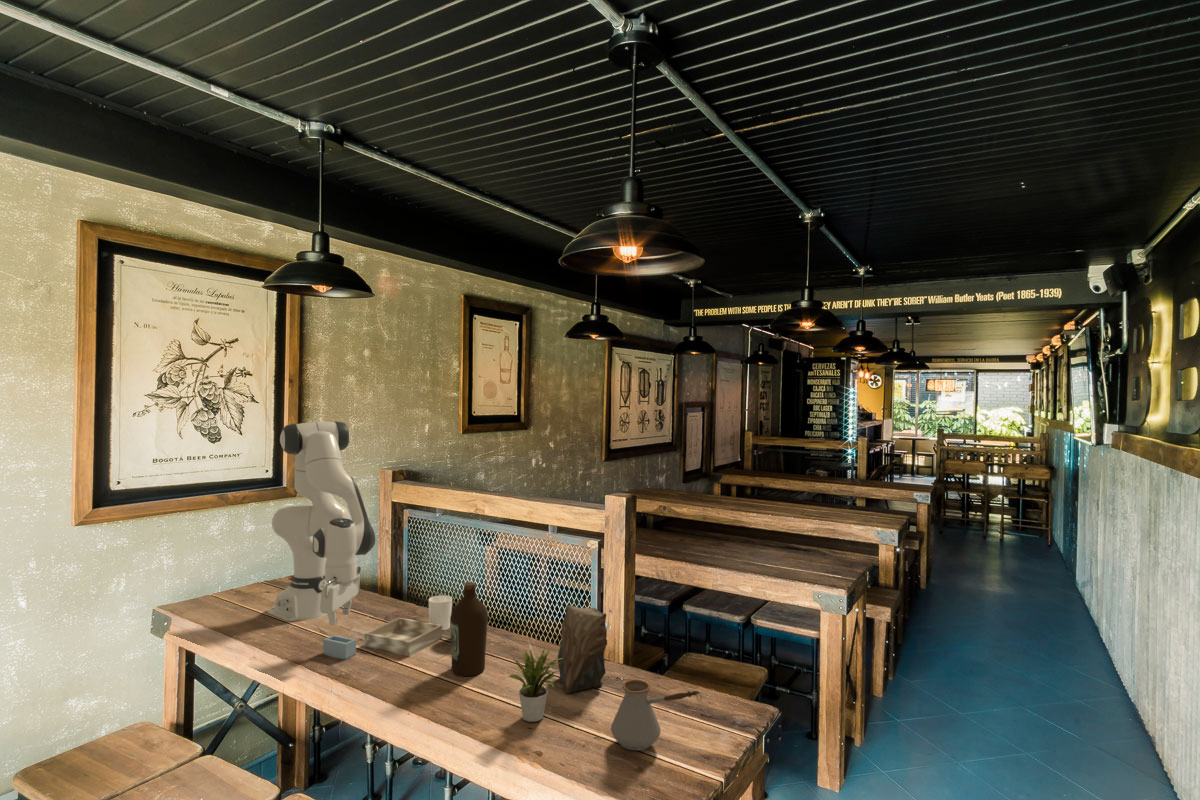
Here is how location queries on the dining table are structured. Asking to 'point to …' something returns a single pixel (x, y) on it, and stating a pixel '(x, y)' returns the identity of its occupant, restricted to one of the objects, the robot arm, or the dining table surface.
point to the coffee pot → (639, 716)
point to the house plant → (534, 686)
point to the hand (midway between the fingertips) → (339, 619)
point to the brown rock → (582, 649)
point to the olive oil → (468, 634)
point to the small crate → (339, 647)
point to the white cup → (440, 610)
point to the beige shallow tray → (403, 636)
